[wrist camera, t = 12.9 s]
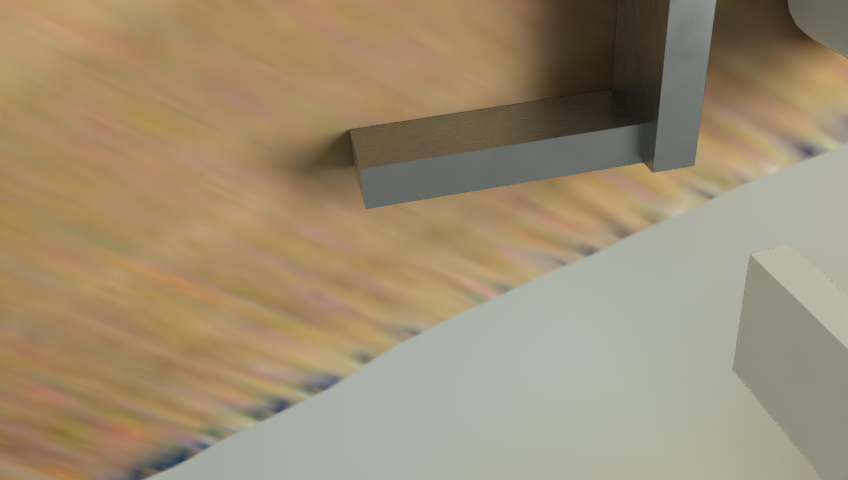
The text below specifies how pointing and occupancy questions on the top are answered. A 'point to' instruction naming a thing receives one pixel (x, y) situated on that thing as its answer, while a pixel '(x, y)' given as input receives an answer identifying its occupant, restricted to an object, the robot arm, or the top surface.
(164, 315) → the top surface
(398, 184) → the grey u-shaped frame
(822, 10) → the cup
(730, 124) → the top surface
